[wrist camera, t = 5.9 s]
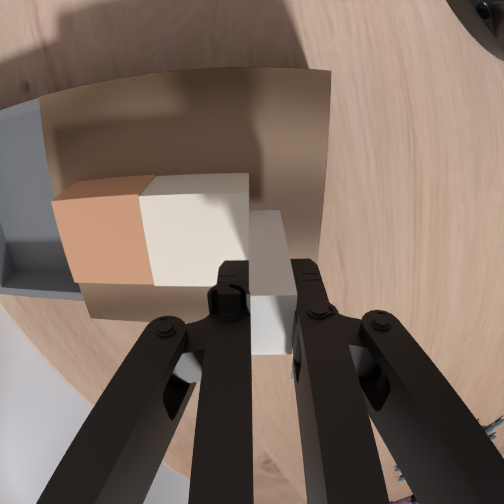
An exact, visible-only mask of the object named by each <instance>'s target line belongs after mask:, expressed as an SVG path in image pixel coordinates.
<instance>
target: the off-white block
mask: <svg viewBox="0 0 504 504" xmlns="http://www.w3.org/2000/svg"><path fill="white" fill-rule="evenodd" d="M139 203H140V210H141V216H142V222H143V228H144V234H145V239H146V245H147V250H148V256H149V261H150V266H151V271H152V276H153V280H154V285H155V286H214V285H216V284H217V277H218V269H219V267H220V265H221V264H222V263H223V262H224V261H225V260H249V173H217V174H188V175H168V176H155V177H154V179H153V180H152V181H151V182H150V183H149V184H148V186H147V187H146V188H145V189H144V190H143V191H142V193H141V194H140V195H139Z"/></svg>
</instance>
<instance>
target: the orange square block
mask: <svg viewBox="0 0 504 504" xmlns="http://www.w3.org/2000/svg"><path fill="white" fill-rule="evenodd" d="M154 177H155V175H141V176H128V177H116V178H105V179H94V180H85V181H77V182H75V183H74V184H73V185H71V186H70V187H69V188H67V189H66V190H65V191H63V192H62V193H61V194H59V195H58V196H57V197H56V198H54V199H53V200H52V201H51V203H52V207H53V211H54V215H55V219H56V223H57V227H58V231H59V234H60V238H61V241H62V245H63V248H64V251H65V255H66V258H67V261H68V264H69V267H70V270H71V273H72V276H73V279H74V282H75V283H107V284H154V280H153V276H152V271H151V266H150V261H149V256H148V250H147V245H146V239H145V234H144V228H143V222H142V216H141V210H140V203H139V195H140V194H141V193H142V191H143V190H144V189H145V188H146V187H147V186H148V184H149V183H150V182H151V181H152V180H153V179H154Z"/></svg>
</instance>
